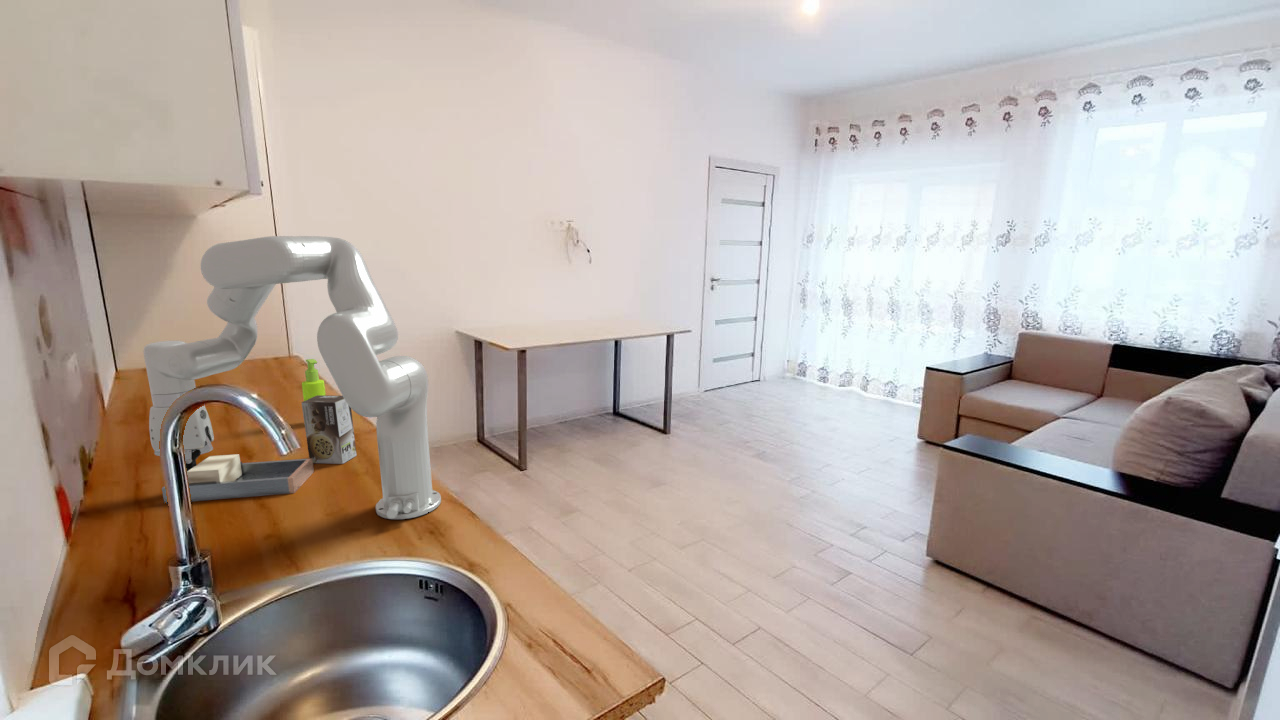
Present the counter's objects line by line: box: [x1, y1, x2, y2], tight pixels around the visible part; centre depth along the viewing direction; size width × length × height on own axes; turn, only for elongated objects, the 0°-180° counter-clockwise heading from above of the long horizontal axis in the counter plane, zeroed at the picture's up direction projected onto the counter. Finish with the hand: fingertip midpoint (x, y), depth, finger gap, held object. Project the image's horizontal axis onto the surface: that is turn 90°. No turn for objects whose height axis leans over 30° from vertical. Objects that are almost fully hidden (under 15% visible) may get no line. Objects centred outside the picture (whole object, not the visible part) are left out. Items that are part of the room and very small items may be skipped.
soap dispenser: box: [301, 358, 327, 401], centre depth 171 cm, size 6×7×20 cm
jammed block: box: [187, 453, 242, 483], centre depth 126 cm, size 9×6×5 cm, turn 12°
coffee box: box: [301, 394, 357, 465], centre depth 142 cm, size 9×6×16 cm
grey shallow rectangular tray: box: [161, 457, 315, 504], centre depth 127 cm, size 12×25×4 cm, turn 102°
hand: (188, 478), depth 125 cm, fingers closed
